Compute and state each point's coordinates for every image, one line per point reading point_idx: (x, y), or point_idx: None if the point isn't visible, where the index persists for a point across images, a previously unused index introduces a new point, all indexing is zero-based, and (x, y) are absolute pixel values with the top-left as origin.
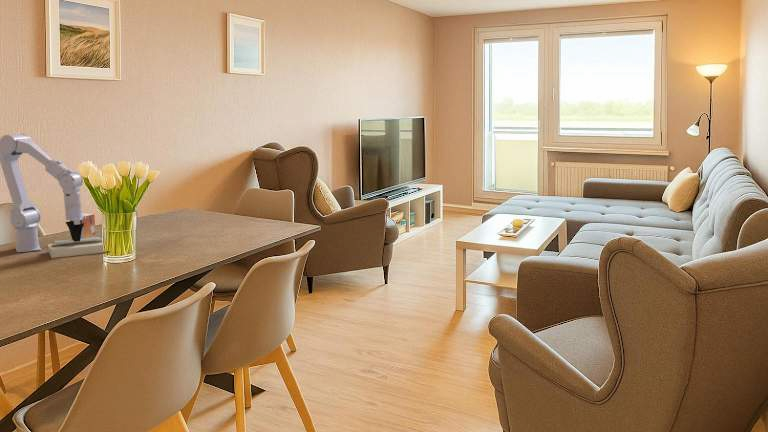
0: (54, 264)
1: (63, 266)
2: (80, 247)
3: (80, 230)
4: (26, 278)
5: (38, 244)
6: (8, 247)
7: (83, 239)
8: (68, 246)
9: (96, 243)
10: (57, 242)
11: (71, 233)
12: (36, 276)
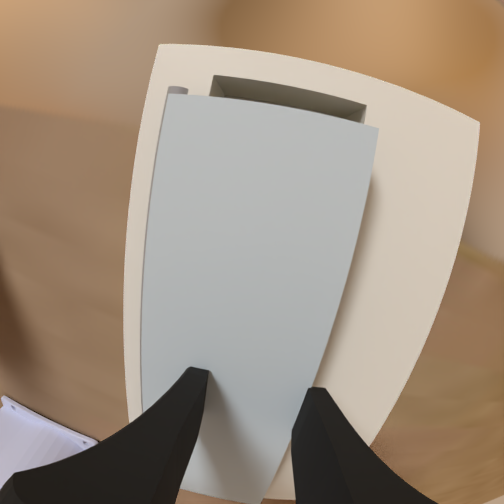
0: (446, 455)
1: (496, 428)
2: (407, 377)
3: (392, 486)
4: (491, 485)
5: (55, 445)
6: None
7: (251, 333)
8: None
9: (372, 206)
10: (252, 497)
11: (183, 471)
12: (500, 472)
